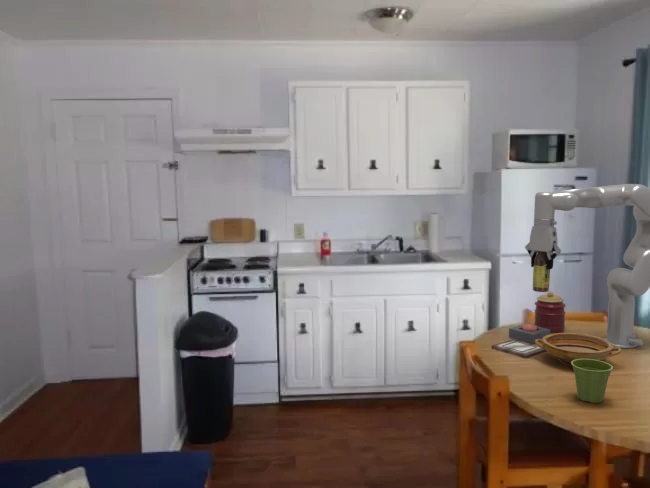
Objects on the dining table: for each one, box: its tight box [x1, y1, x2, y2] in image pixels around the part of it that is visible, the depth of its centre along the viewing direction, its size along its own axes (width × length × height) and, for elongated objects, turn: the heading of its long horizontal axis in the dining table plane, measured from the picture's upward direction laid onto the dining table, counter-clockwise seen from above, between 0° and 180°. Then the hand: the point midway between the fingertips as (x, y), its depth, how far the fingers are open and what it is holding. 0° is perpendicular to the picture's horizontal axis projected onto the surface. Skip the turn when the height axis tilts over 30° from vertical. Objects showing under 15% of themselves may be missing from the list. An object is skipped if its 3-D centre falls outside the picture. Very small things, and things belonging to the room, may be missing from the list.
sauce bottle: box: [532, 251, 551, 293], centre depth 221 cm, size 6×6×20 cm
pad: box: [491, 338, 547, 359], centre depth 222 cm, size 16×14×1 cm
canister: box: [533, 290, 566, 334], centre depth 248 cm, size 13×13×18 cm
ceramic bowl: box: [535, 332, 622, 367], centre depth 206 cm, size 30×24×8 cm
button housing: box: [508, 324, 551, 345], centre depth 237 cm, size 12×12×4 cm
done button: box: [521, 323, 537, 332], centre depth 237 cm, size 6×6×3 cm
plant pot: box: [571, 359, 614, 404], centre depth 173 cm, size 12×12×11 cm
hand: (541, 267), depth 221 cm, fingers closed on sauce bottle, 6 cm apart
